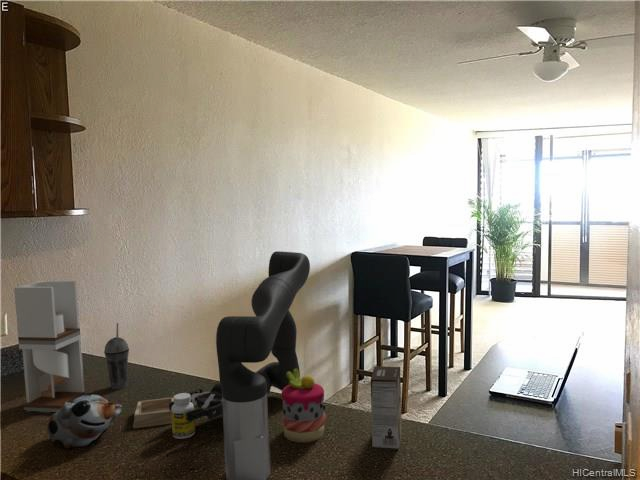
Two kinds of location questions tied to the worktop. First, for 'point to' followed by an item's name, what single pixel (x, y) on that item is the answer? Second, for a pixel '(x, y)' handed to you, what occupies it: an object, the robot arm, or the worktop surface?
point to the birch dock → (153, 412)
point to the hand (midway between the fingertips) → (178, 412)
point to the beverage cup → (117, 361)
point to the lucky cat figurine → (82, 420)
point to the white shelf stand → (50, 343)
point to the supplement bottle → (182, 417)
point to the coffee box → (386, 407)
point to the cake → (303, 409)
